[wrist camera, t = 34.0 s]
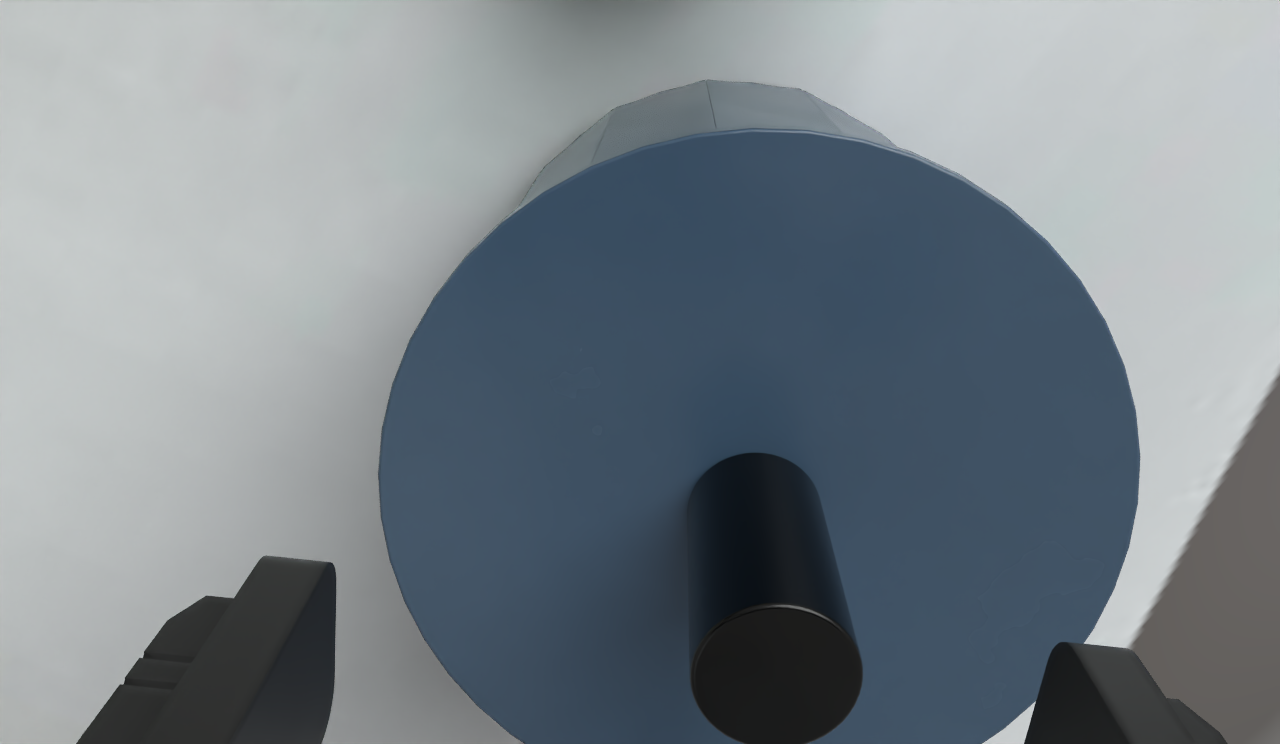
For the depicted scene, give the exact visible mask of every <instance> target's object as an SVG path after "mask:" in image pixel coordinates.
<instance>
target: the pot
mask: <svg viewBox="0 0 1280 744" xmlns="http://www.w3.org/2000/svg"><path fill="white" fill-rule="evenodd" d="M743 125H775V126H806V127H812V128H818V129H824V130H830V131H836V132H842V133H848V134H854V135H860V136H863V137H866V138H869V139H873V140H876V141H879V142H882V143H886V144H889V145H892V146H895V145H894V144H893V143H892V142H891V141H890V140H889V139H888V138H886V137H885V136H884V135H883V134H881V133H880V132H878V131H876V130H874V129H872V128H871V127H869V126H867V125H865V124H863V123H862V122H860V121H858V120H856V119H855V118H853V117H851V116H849V115H848V114H846V113H845V112H843V111H842V110H840V109H838V108H836V107H834V106H831V105H829V104H828V103H826V102H824V101H822V100H821V99H819V98H817V97H815V96H813V95H812V94H810V93H808V92H806V91H802V90H801V89H797V88H787V87H777V86H770V85H765V84H759V83H752V82H727V81H717V80H702V81H699V82H696V83H693V84H690V85H686V86H683V87H679V88H675V89H670V90H666V91H662V92H659V93H656V94H654V95H651V96H648V97H646V98H643V99H641V100H638V101H635V102H632V103H629V104H625V105H622V106H619V107H616V108H615V109H612V110H611V111H610V112H609V113H608V114H606V115H605V116H604V117H603V118H602V119H601V120H599V121H598V122H597V123H596V124H595V125H593V126H592V127H591V128H590V129H588V130H587V131H586V132H584V133H583V134H582V135H580V136H579V137H578V138H577V139H576V140H575V141H574V142H573V143H572V144H571V145H570V146H569V147H567V148H566V149H565V150H564V151H563V152H562V153H560V154H559V155H558V156H557V157H556V158H554V159H553V160H552V161H551V162H550V163H549V164H547V165H546V166H545V167H544V168H543V170H542V171H541V172H540V174H539V176H538V177H537V179H536V180H535V182H534V183H533V185H532V187H531V188H530V190H529V191H528V193H527V194H526V196H525V198H524V199H523V201H522V202H521V204H520V205H519V207H520V206H521V205H523V204H524V203H525V202H527V201H528V200H529V199H531V198H532V197H534V196H535V195H536V194H538V193H539V192H540V191H542V190H543V189H544V188H546V187H548V186H549V185H551V184H553V183H555V182H557V181H559V180H560V179H562V178H564V177H566V176H568V175H570V174H571V173H573V172H575V171H577V170H579V169H581V168H583V167H584V166H586V165H588V164H590V163H592V162H594V161H597V160H599V159H602V158H604V157H607V156H610V155H612V154H615V153H618V152H620V151H623V150H625V149H628V148H631V147H633V146H636V145H638V144H641V143H644V142H649V141H653V140H657V139H661V138H665V137H670V136H674V135H678V134H682V133H686V132H691V131H695V130H703V129H713V128H723V127H733V126H743ZM895 147H897V146H895ZM519 207H518V208H519Z"/></svg>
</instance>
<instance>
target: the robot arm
mask: <svg viewBox="0 0 1280 744" xmlns="http://www.w3.org/2000/svg"><path fill="white" fill-rule="evenodd" d="M335 625H336V572H335V567H334V565H333V563H331V562H322V561H312V560H303V559H293V558H284V557H274V556H263V557H262V558H261V559H260V560H259V561H258V563H257V564H256V566H255V567H254V569H253V570H252V572H251V573H250V575H249V576H248V578H247V579H246V581H245V582H244V584H243V585H242V587H241V589H240V590H239V592H238V593H237V595H236V596H235V598H224V597H215V596H205V597H204V598H202V599H200V600H199V601H197V602H196V603H194V604H193V605H191V606H189V607H188V608H186V609H185V610H183V611H182V612H180V613H178V614H177V615H175V616H174V617H172V618H170V619H169V620H167V622H166V623H165V624H164V626H163V627H162V628H161V630H160V631H159V632H158V634H157V635H156V636H155V638H154V639H153V640H152V642H151V643H150V645H149V646H148V647H147V649H146V650H145V651H144V656H143V658H139V659H138V661H137V662H136V663H135V665H134V666H133V668H132V669H131V670H130V672H129V673H128V674H127V676H126V677H125V682H124V684H123V685H121V684H120V685H119V686H118V688H117V689H116V691H115V692H114V693H113V695H112V696H111V697H110V699H109V700H108V701H107V703H106V704H105V705H104V707H103V708H102V709H101V711H100V712H99V713H98V715H97V716H96V718H95V719H94V720H93V722H92V723H91V724H90V726H89V727H88V728H87V730H86V731H85V732H84V734H83V735H82V736H81V738H80V739H79V741H78V742H77V743H76V744H321V743H322V740H323V738H324V735H325V732H326V728H327V724H328V720H329V716H330V711H331V706H332V700H333V692H334V678H335ZM1024 744H1227V742H1226V741H1225V740H1224V738H1223V737H1222V735H1221V734H1220V732H1218V731H1217V730H1216V729H1215V728H1213V727H1212V726H1211V725H1210V724H1208V723H1207V722H1206V721H1205V720H1203V719H1202V718H1201V717H1200V716H1198V715H1197V714H1196V713H1195V712H1193V711H1192V710H1191V709H1190V708H1189V707H1187V706H1186V705H1185V704H1184V703H1182V702H1181V701H1180V700H1178V699H1169V698H1166V697H1165V696H1164V694H1163V693H1162V691H1161V690H1160V688H1159V687H1158V685H1157V684H1156V683H1155V681H1154V680H1153V678H1152V677H1151V675H1150V674H1149V672H1148V671H1147V669H1146V668H1145V667H1144V665H1143V663H1142V662H1141V660H1140V659H1139V658H1138V656H1137V655H1136V654H1135V653H1134V652H1133V651H1132V650H1130V649H1127V648H1118V647H1108V646H1099V645H1090V644H1080V643H1071V642H1060V643H1058V644H1057V645H1056V646H1055V647H1054V648H1053V650H1052V651H1051V653H1050V656H1049V658H1048V661H1047V665H1046V668H1045V672H1044V675H1043V679H1042V683H1041V686H1040V690H1039V693H1038V697H1037V700H1036V704H1035V707H1034V711H1033V714H1032V718H1031V722H1030V725H1029V729H1028V732H1027V736H1026V739H1025V743H1024Z"/></svg>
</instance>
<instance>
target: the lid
mask: <svg viewBox="0 0 1280 744" xmlns="http://www.w3.org/2000/svg"><path fill="white" fill-rule="evenodd" d="M1139 471H1140V449H1139V439H1138V428H1137V418H1136V410H1135V406H1134V402H1133V398H1132V394H1131V390H1130V386H1129V382H1128V378H1127V374H1126V370H1125V366H1124V363H1123V361H1122V359H1121V356H1120V354H1119V352H1118V349H1117V347H1116V344H1115V342H1114V340H1113V337H1112V335H1111V333H1110V330H1109V328H1108V326H1107V323H1106V321H1105V319H1104V318H1103V316H1102V314H1101V313H1100V311H1099V310H1098V308H1097V306H1096V305H1095V303H1094V301H1093V300H1092V298H1091V297H1090V295H1089V293H1088V292H1087V290H1086V288H1085V287H1084V285H1083V284H1082V282H1081V280H1080V279H1079V278H1078V277H1077V275H1076V274H1075V273H1074V272H1073V271H1072V269H1071V268H1070V267H1069V266H1068V265H1067V264H1066V262H1065V261H1064V260H1063V259H1062V258H1061V256H1060V255H1059V254H1058V253H1057V252H1056V251H1055V249H1054V248H1053V247H1052V246H1051V245H1050V243H1049V242H1048V241H1047V240H1046V239H1045V238H1043V237H1042V236H1041V235H1040V234H1039V233H1038V232H1037V231H1036V230H1034V229H1033V228H1032V227H1031V226H1030V225H1029V224H1028V223H1026V222H1025V221H1024V220H1023V219H1022V218H1021V217H1020V216H1018V215H1017V214H1016V213H1015V212H1014V211H1013V210H1012V209H1011V208H1009V207H1008V206H1007V205H1006V204H1004V203H1003V202H1002V201H1000V200H998V199H997V198H995V197H994V196H992V195H991V194H989V193H988V192H986V191H985V190H983V189H982V188H980V187H979V186H977V185H975V184H974V183H972V182H971V181H969V180H968V179H966V178H965V177H963V176H962V175H960V174H958V173H956V172H954V171H952V170H950V169H948V168H946V167H943V166H941V165H939V164H937V163H935V162H933V161H931V160H928V159H926V158H924V157H922V156H920V155H918V154H916V153H913V152H911V151H908V150H905V149H902V148H899V147H895V146H892V145H889V144H886V143H882V142H879V141H876V140H873V139H869V138H866V137H863V136H860V135H854V134H848V133H842V132H836V131H830V130H824V129H818V128H812V127H806V126H775V125H743V126H733V127H723V128H713V129H703V130H695V131H691V132H686V133H682V134H678V135H674V136H670V137H665V138H661V139H657V140H653V141H649V142H644V143H641V144H638V145H636V146H633V147H631V148H628V149H625V150H623V151H620V152H618V153H615V154H612V155H610V156H607V157H604V158H602V159H599V160H597V161H594V162H592V163H590V164H588V165H586V166H584V167H583V168H581V169H579V170H577V171H575V172H573V173H571V174H570V175H568V176H566V177H564V178H562V179H560V180H559V181H557V182H555V183H553V184H551V185H549V186H548V187H546V188H544V189H543V190H542V191H540V192H539V193H538V194H536V195H535V196H534V197H532V198H531V199H529V200H528V201H527V202H525V203H524V204H523V205H521V206H520V207H519V208H517V209H516V210H514V211H513V212H512V213H510V214H509V215H508V216H506V217H505V218H504V219H503V220H502V221H501V222H500V223H499V224H498V225H497V226H496V227H494V228H493V229H492V230H491V231H490V232H489V233H488V234H487V235H486V236H485V237H484V238H483V239H482V240H481V241H480V242H479V243H478V244H477V245H476V246H475V247H474V248H473V249H472V250H471V251H470V252H469V253H468V254H467V255H466V256H465V258H464V259H463V260H462V262H461V263H460V264H459V265H458V267H457V268H456V269H455V271H454V272H453V273H452V274H451V276H450V277H449V278H448V280H447V281H446V282H445V283H444V285H443V286H442V287H441V289H440V290H439V291H438V293H437V294H436V295H435V297H434V298H433V300H432V302H431V303H430V305H429V307H428V309H427V310H426V312H425V314H424V316H423V317H422V319H421V321H420V323H419V324H418V326H417V328H416V330H415V331H414V333H413V335H412V337H411V338H410V340H409V343H408V345H407V348H406V350H405V353H404V356H403V358H402V361H401V363H400V366H399V368H398V371H397V373H396V376H395V378H394V381H393V383H392V387H391V392H390V396H389V400H388V405H387V409H386V413H385V417H384V422H383V426H382V433H381V445H380V457H379V469H378V480H379V496H380V512H381V521H382V526H383V530H384V535H385V540H386V545H387V550H388V555H389V559H390V562H391V565H392V568H393V571H394V574H395V576H396V579H397V582H398V585H399V588H400V590H401V593H402V596H403V599H404V601H405V603H406V605H407V607H408V609H409V611H410V613H411V615H412V617H413V619H414V621H415V623H416V625H417V626H418V628H419V630H420V632H421V634H422V636H423V638H424V640H425V641H426V643H427V644H428V646H429V647H430V648H431V650H432V651H433V653H434V654H435V655H436V657H437V658H438V660H439V661H440V663H441V664H442V665H443V667H444V668H445V670H446V671H447V673H448V674H449V675H450V676H451V677H452V678H453V680H454V681H455V682H456V683H457V684H458V685H459V686H460V687H461V688H462V689H463V691H464V692H465V693H466V694H467V695H468V696H469V697H470V698H471V699H472V700H473V702H474V703H475V704H476V705H477V706H478V707H479V708H480V709H482V710H483V711H484V712H485V713H486V714H487V715H489V716H490V717H491V718H492V719H493V720H494V721H496V722H497V723H498V724H499V725H500V726H501V727H503V728H504V729H505V730H506V731H507V732H508V733H510V734H511V735H512V736H514V737H515V738H517V739H518V740H520V741H521V742H523V743H524V744H982V743H984V742H985V741H987V740H988V739H989V738H991V737H992V736H994V735H995V734H997V733H998V732H1000V731H1001V730H1003V729H1004V728H1005V727H1006V726H1008V725H1009V724H1010V723H1011V722H1012V721H1013V720H1015V719H1016V718H1017V717H1018V716H1019V715H1020V714H1021V713H1023V712H1024V711H1025V710H1026V709H1027V708H1028V707H1029V706H1031V705H1032V704H1033V703H1034V702H1035V701H1036V700H1037V697H1038V693H1039V690H1040V686H1041V683H1042V679H1043V675H1044V672H1045V668H1046V665H1047V661H1048V658H1049V656H1050V653H1051V651H1052V650H1053V648H1054V647H1055V646H1056V645H1057V644H1058V643H1060V642H1071V643H1080V644H1084V642H1085V641H1086V639H1087V638H1088V636H1089V635H1090V633H1091V632H1092V631H1093V629H1094V627H1095V625H1096V623H1097V621H1098V619H1099V617H1100V616H1101V614H1102V612H1103V610H1104V608H1105V606H1106V604H1107V602H1108V600H1109V598H1110V596H1111V594H1112V592H1113V590H1114V588H1115V585H1116V582H1117V579H1118V577H1119V574H1120V571H1121V568H1122V565H1123V562H1124V560H1125V557H1126V554H1127V551H1128V548H1129V544H1130V539H1131V534H1132V529H1133V524H1134V519H1135V514H1136V509H1137V505H1138V490H1139Z"/></svg>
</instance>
